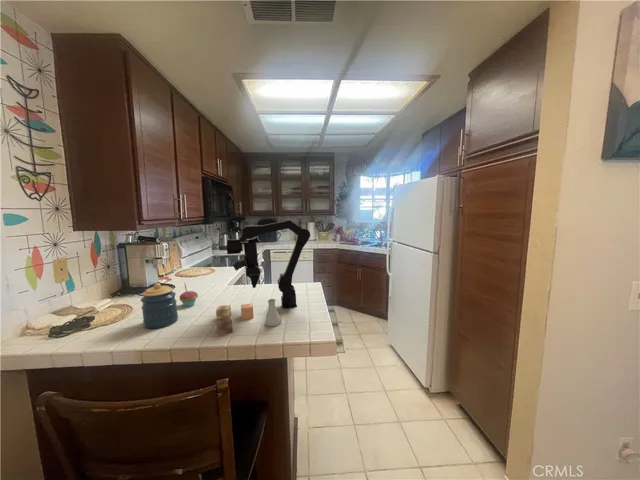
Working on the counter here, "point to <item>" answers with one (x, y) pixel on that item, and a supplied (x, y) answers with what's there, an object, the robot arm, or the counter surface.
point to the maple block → (223, 311)
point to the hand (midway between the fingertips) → (253, 285)
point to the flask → (272, 314)
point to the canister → (159, 307)
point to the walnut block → (224, 325)
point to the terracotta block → (247, 311)
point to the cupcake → (188, 297)
